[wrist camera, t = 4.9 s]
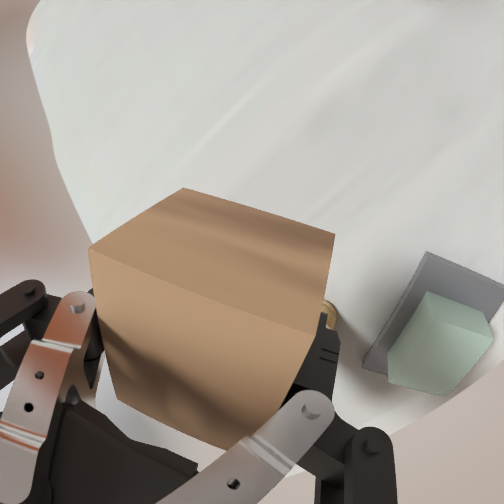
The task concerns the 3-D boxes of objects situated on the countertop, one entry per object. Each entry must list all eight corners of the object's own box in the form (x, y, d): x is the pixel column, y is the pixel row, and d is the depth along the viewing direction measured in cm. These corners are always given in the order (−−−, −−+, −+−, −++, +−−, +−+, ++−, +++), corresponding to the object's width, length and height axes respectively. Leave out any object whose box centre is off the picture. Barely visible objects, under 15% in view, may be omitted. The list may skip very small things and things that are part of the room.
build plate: (425, 251, 24) (438, 281, 19) (505, 285, 22) (523, 316, 18) (362, 361, 31) (359, 396, 26) (435, 381, 29) (439, 415, 25)
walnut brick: (183, 187, 11) (87, 247, 7) (335, 234, 10) (315, 335, 6) (173, 324, 15) (117, 399, 10) (283, 366, 14) (250, 459, 10)
